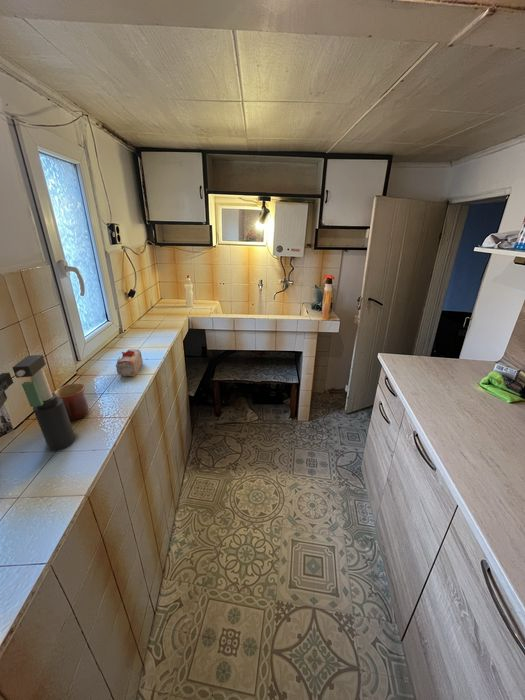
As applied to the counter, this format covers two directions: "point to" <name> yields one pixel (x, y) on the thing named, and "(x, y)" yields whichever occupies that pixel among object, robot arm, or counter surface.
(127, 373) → the food item
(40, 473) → the counter surface
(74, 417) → the mug
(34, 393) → the trigger
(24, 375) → the spray bottle
